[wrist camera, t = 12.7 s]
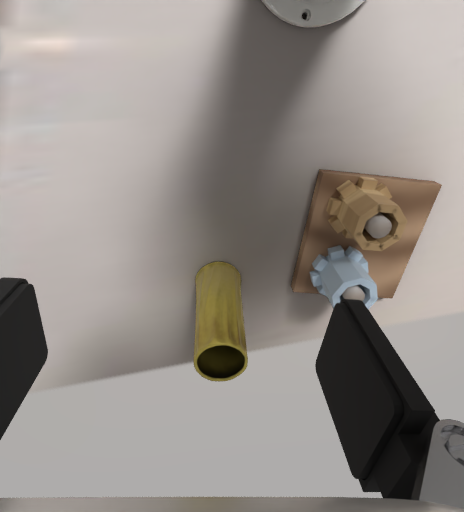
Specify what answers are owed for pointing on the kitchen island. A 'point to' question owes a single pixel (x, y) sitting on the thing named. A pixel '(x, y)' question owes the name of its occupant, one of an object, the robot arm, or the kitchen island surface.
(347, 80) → the kitchen island surface
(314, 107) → the kitchen island surface
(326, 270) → the gear
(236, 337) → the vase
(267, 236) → the kitchen island surface
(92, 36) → the kitchen island surface
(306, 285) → the board
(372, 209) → the oak gear
